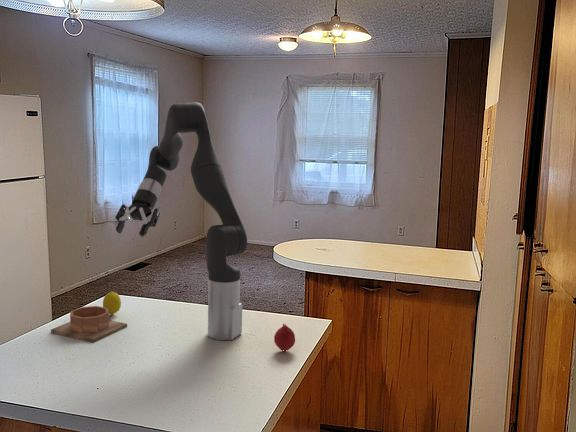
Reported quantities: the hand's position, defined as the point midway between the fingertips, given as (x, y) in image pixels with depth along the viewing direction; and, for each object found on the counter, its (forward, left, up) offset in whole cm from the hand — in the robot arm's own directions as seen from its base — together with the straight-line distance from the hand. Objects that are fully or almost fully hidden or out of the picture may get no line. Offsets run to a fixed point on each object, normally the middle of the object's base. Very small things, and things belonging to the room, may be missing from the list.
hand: (129, 233), depth 174 cm
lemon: (0, +9, -25) cm, 27 cm away
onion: (-61, +10, -25) cm, 67 cm away
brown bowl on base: (-3, +22, -25) cm, 34 cm away
